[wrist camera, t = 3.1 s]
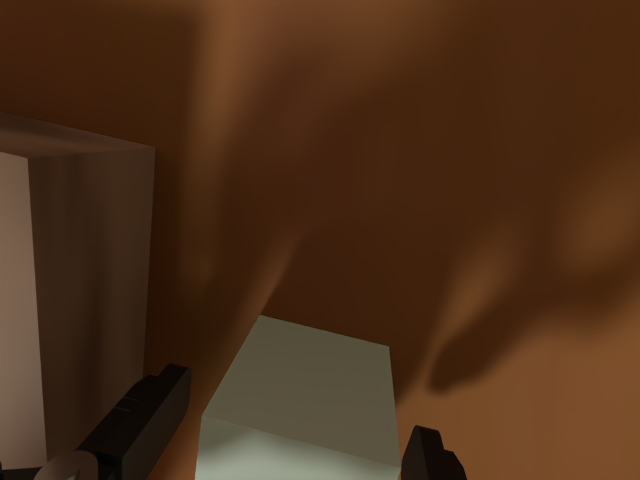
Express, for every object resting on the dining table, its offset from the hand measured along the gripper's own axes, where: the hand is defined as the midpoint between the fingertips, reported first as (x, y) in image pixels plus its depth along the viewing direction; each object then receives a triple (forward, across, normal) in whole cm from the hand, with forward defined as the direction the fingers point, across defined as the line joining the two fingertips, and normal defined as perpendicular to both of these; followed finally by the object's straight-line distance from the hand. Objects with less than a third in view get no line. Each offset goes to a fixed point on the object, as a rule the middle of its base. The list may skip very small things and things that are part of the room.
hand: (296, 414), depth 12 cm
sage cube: (+2, 0, 0) cm, 2 cm away
